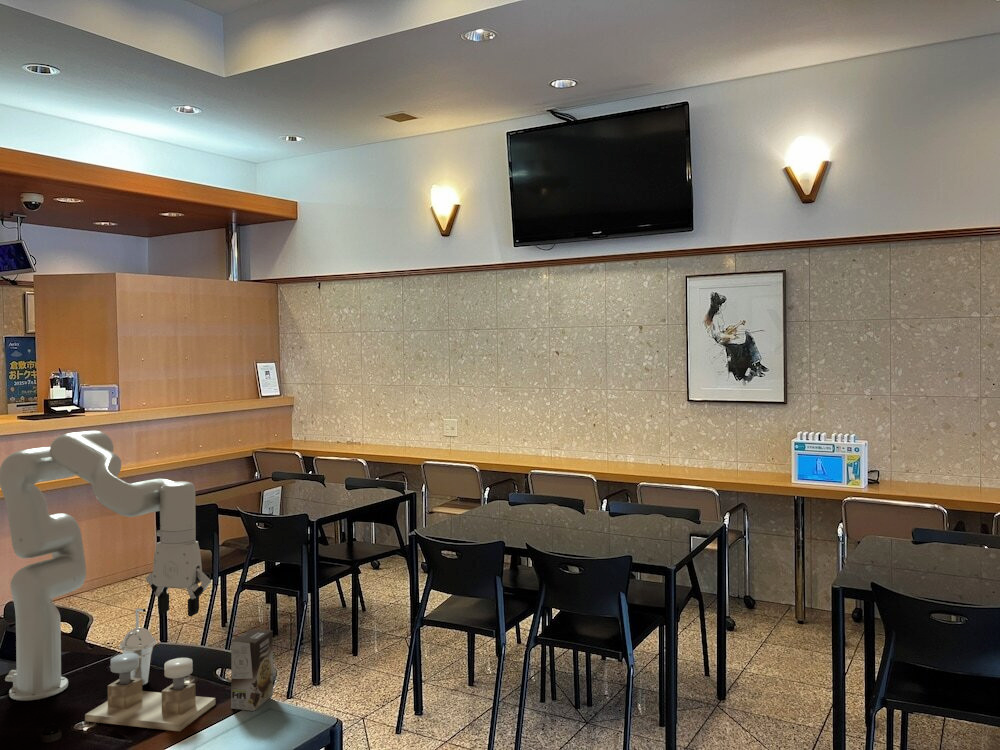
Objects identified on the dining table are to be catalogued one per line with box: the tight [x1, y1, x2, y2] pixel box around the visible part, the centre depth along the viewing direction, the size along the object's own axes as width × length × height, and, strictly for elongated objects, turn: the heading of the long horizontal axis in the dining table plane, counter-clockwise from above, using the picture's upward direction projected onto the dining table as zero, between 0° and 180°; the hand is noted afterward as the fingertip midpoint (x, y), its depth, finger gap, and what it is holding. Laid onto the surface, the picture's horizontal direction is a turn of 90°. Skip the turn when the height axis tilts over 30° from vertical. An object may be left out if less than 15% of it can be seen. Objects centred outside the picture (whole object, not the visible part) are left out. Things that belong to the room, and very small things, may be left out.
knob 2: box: [163, 657, 194, 691], centre depth 181 cm, size 6×6×8 cm
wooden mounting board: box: [84, 678, 216, 732], centre depth 183 cm, size 24×14×6 cm, turn 78°
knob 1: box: [110, 653, 139, 685], centre depth 184 cm, size 6×6×8 cm
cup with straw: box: [119, 607, 157, 686], centre depth 199 cm, size 8×9×20 cm
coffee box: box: [230, 628, 274, 712], centre depth 188 cm, size 9×6×16 cm
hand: (178, 612), depth 181 cm, fingers open, 6 cm apart
